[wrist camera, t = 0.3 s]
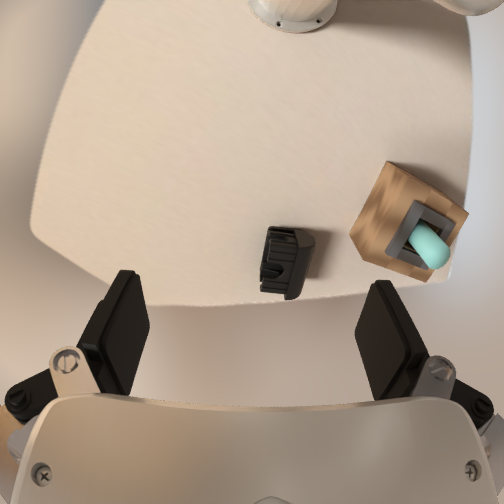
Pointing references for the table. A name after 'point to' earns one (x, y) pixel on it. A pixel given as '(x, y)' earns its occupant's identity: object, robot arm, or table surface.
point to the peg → (429, 245)
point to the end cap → (285, 261)
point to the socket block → (403, 221)
